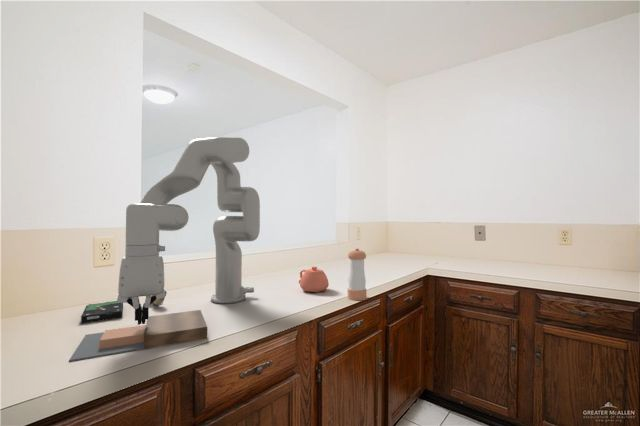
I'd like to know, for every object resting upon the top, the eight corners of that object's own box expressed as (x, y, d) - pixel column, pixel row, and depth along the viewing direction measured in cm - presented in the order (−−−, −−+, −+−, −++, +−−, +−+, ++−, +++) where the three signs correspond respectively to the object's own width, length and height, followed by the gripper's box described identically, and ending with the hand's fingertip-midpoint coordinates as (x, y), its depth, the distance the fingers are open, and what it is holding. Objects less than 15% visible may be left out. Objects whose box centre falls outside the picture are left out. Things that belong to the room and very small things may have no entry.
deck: (200, 319, 92) (200, 309, 92) (207, 338, 78) (207, 326, 78) (147, 327, 86) (147, 316, 86) (144, 349, 72) (144, 336, 72)
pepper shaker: (370, 297, 118) (370, 248, 119) (358, 301, 113) (358, 249, 114) (355, 294, 123) (355, 247, 124) (343, 297, 118) (343, 248, 119)
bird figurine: (171, 306, 107) (170, 289, 106) (156, 311, 102) (155, 293, 102) (163, 303, 110) (162, 287, 109) (147, 308, 105) (146, 291, 105)
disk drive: (123, 319, 94) (123, 307, 107) (123, 310, 94) (123, 299, 107) (80, 326, 88) (85, 312, 101) (80, 316, 88) (86, 303, 101)
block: (146, 332, 81) (146, 325, 81) (143, 342, 75) (144, 334, 75) (105, 338, 77) (105, 330, 77) (99, 348, 71) (99, 340, 71)
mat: (147, 327, 86) (147, 326, 86) (144, 349, 72) (144, 347, 72) (85, 335, 79) (85, 334, 79) (68, 361, 65) (68, 360, 65)
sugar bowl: (318, 295, 122) (319, 270, 122) (290, 291, 129) (291, 267, 129) (333, 289, 132) (333, 266, 132) (307, 285, 140) (307, 263, 140)
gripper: (174, 248, 85) (173, 314, 85) (110, 251, 79) (109, 322, 78) (175, 251, 79) (174, 322, 78) (105, 254, 72) (103, 332, 72)
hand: (141, 322), depth 78 cm, fingers closed
